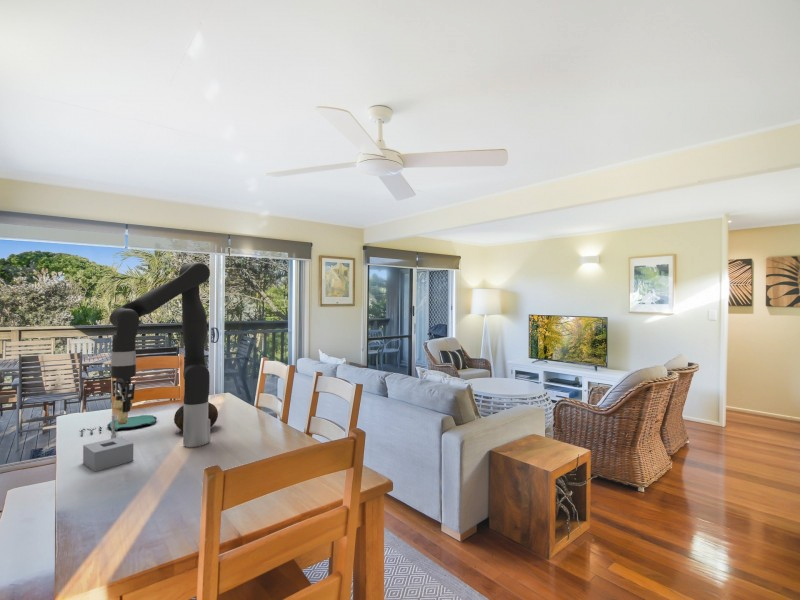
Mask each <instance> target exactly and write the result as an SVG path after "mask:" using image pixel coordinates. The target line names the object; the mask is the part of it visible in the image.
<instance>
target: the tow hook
mask: <svg viewBox="0 0 800 600" xmlns="http://www.w3.org/2000/svg"><path fill="white" fill-rule="evenodd" d="M110 422H111V424H112V430H111V435H110V437H111V438H110V439H113V438H117V434H116V431H115V415H112V416H111V421H110Z"/></svg>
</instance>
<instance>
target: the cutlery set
mask: <svg viewBox="0 0 800 600" xmlns="http://www.w3.org/2000/svg"><path fill="white" fill-rule="evenodd" d="M114 421H115V430H117V431H118V430H122V429H123V430H124V429H132V428H138V427H139V428H140V427H143V426H146V425H149V426H150V425H152V424H154V423H155V422H156V421H157V416H154V415H151V414H142V415H138V416H136V415H135V416H129V417H128V422H127V424H123V425H118V424H117V422H118V419H114ZM107 427H108V428H110V430H111V431H112V424H111V421H110V422H109V423H108V424H107ZM101 429H102V430H103V427H102V428H100V427H99V428H98V431H99V430H101ZM83 430H85V431H86V428H85V429H84V428H83ZM83 430H81V431H80V432H81V434H80V437H84V431H83ZM102 430H101V432H100V431H99V434H100V433H101V434H102ZM90 434H91V435H93V434H94V431H93V430H90Z"/></svg>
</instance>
